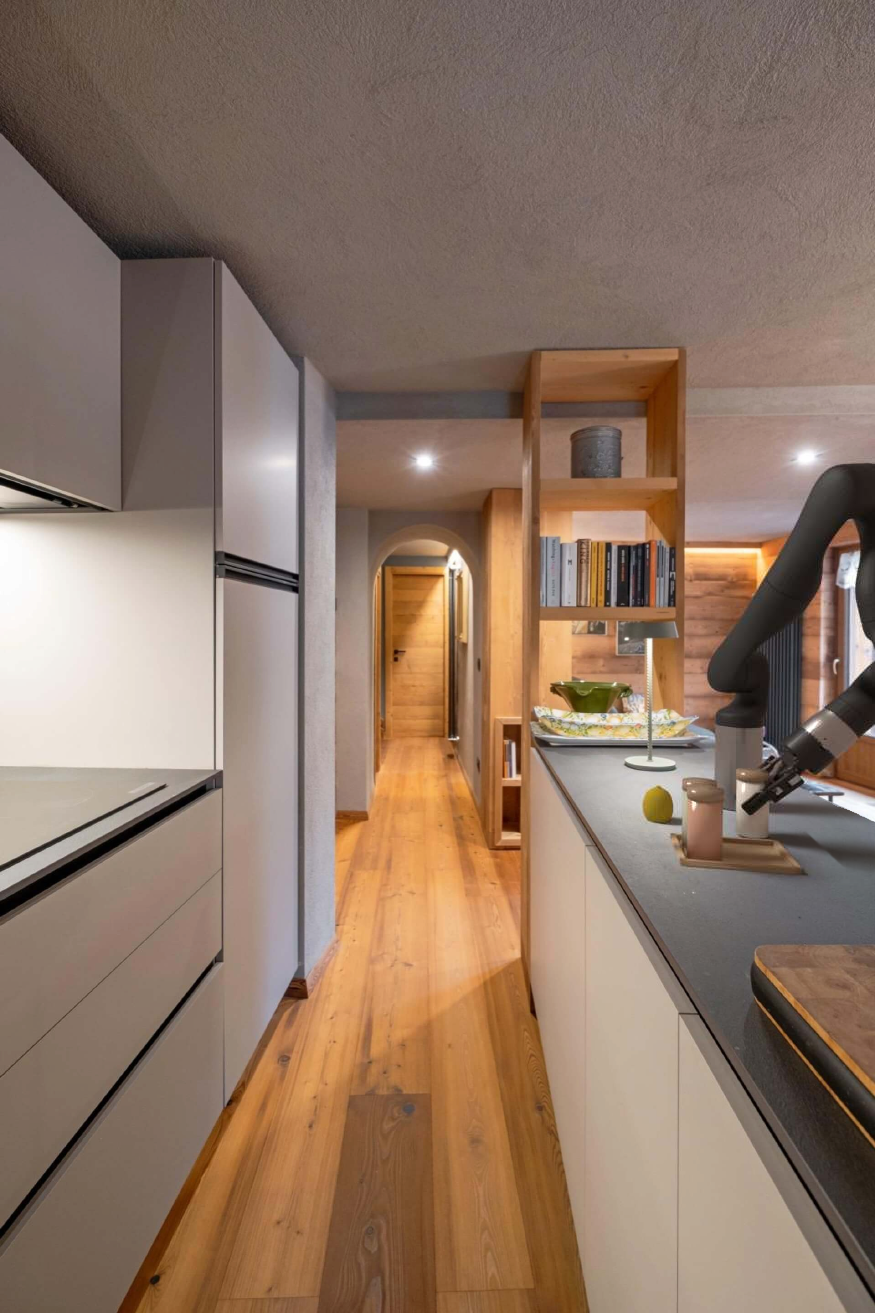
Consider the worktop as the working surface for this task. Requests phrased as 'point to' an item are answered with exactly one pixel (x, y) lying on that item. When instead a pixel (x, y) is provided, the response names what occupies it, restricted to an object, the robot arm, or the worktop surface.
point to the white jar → (746, 787)
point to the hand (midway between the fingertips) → (741, 806)
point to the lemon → (658, 805)
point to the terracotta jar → (704, 822)
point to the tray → (744, 856)
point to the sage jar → (686, 783)
